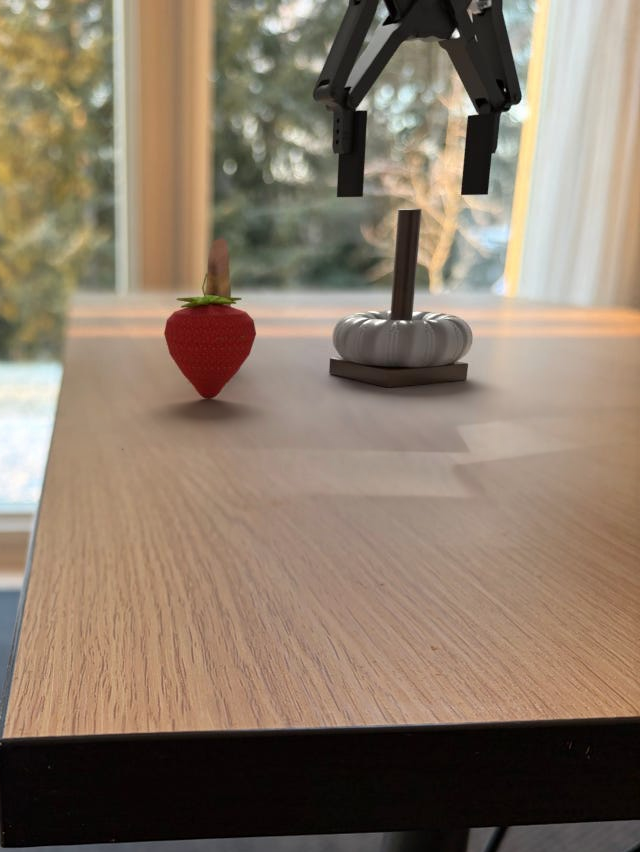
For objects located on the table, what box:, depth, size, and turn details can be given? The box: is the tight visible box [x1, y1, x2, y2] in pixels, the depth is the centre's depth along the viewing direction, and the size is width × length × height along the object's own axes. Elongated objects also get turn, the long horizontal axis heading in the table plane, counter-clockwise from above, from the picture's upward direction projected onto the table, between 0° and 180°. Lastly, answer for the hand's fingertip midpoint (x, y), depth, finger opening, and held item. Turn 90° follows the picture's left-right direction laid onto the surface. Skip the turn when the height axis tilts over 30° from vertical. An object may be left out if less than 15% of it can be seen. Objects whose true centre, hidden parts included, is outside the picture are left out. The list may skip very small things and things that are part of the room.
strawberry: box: [163, 272, 257, 400], centre depth 86 cm, size 6×8×10 cm
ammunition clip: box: [204, 236, 232, 307], centre depth 100 cm, size 11×2×12 cm, turn 172°
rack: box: [328, 208, 469, 388], centre depth 96 cm, size 9×9×14 cm
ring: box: [331, 310, 474, 368], centre depth 97 cm, size 12×12×4 cm
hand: (413, 196), depth 92 cm, fingers open, 13 cm apart
